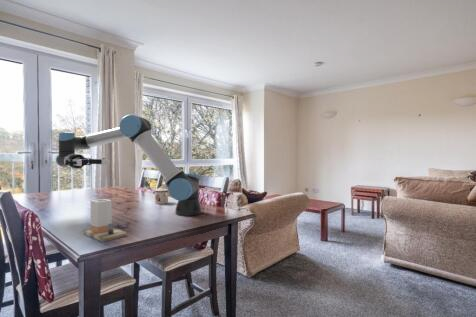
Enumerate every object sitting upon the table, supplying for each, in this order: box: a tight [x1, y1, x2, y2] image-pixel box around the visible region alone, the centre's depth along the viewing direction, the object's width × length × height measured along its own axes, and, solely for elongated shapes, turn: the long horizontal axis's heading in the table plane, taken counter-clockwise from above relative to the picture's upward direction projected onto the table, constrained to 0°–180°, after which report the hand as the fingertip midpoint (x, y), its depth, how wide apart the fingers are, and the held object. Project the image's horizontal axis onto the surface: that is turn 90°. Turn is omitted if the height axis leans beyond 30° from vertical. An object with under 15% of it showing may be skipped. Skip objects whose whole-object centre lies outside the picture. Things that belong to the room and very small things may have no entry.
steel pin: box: [108, 222, 114, 234], centre depth 114 cm, size 2×2×4 cm
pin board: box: [83, 227, 127, 243], centre depth 117 cm, size 16×10×2 cm, turn 55°
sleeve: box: [90, 198, 113, 233], centre depth 119 cm, size 6×6×13 cm
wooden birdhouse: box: [154, 185, 169, 205], centre depth 188 cm, size 12×9×12 cm
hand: (95, 162), depth 133 cm, fingers open, 13 cm apart
